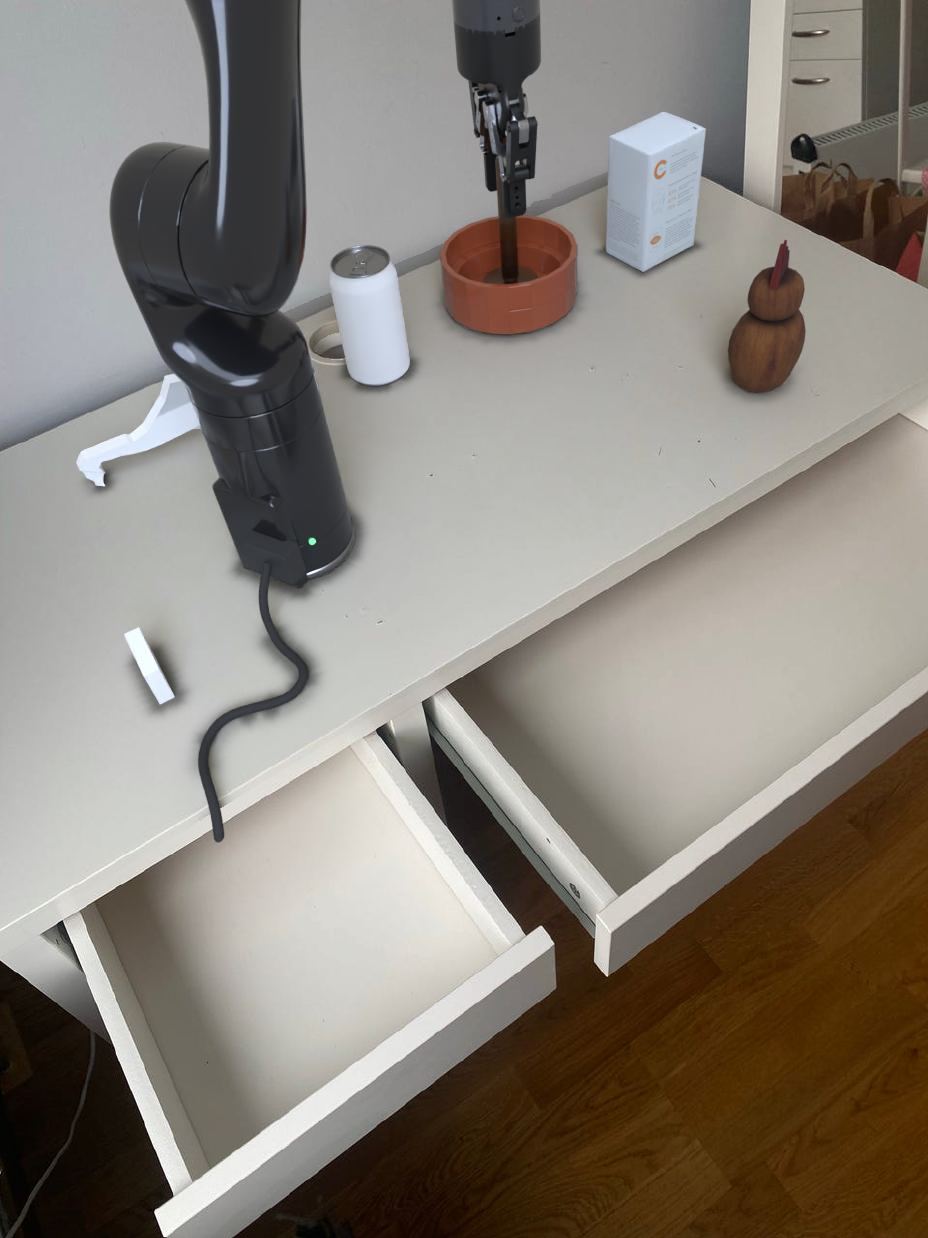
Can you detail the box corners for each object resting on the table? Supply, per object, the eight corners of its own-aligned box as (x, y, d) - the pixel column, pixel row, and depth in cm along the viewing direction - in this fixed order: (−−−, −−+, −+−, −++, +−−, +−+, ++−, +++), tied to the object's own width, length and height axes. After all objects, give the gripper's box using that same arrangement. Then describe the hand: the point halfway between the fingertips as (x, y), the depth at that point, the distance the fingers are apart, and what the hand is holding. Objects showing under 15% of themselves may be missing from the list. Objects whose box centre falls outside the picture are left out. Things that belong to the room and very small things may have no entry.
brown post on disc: (523, 315, 100) (518, 170, 88) (473, 304, 102) (461, 160, 90) (548, 286, 103) (546, 142, 91) (499, 275, 105) (491, 133, 93)
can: (414, 349, 98) (398, 241, 89) (406, 387, 94) (388, 278, 85) (354, 350, 99) (332, 243, 90) (343, 388, 95) (319, 280, 86)
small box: (655, 225, 110) (664, 108, 100) (694, 246, 107) (708, 127, 96) (603, 252, 107) (607, 134, 97) (642, 273, 104) (650, 154, 94)
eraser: (154, 655, 75) (138, 626, 72) (175, 697, 72) (159, 669, 69) (140, 662, 75) (123, 634, 72) (160, 704, 72) (143, 677, 69)
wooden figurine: (761, 410, 88) (791, 261, 76) (712, 384, 91) (734, 237, 79) (806, 377, 90) (841, 228, 79) (757, 353, 93) (784, 206, 82)
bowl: (541, 351, 96) (539, 298, 92) (422, 321, 101) (415, 270, 97) (597, 279, 104) (598, 228, 99) (483, 255, 109) (480, 205, 104)
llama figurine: (256, 464, 98) (75, 478, 88) (269, 364, 91) (75, 368, 81) (263, 473, 97) (80, 489, 87) (277, 373, 90) (81, 378, 80)
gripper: (432, -8, 85) (450, 178, 98) (478, 47, 76) (491, 244, 89) (511, -24, 86) (518, 163, 99) (566, 29, 77) (566, 227, 90)
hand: (505, 200), depth 94 cm, fingers open, 5 cm apart
